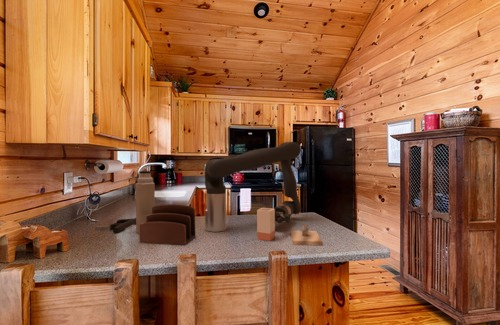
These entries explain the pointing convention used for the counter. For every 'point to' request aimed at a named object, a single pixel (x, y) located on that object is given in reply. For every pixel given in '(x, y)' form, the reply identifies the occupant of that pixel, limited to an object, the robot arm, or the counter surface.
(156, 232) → the letter holder
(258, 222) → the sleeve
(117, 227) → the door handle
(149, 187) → the thermos bottle
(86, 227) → the counter surface
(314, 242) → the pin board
